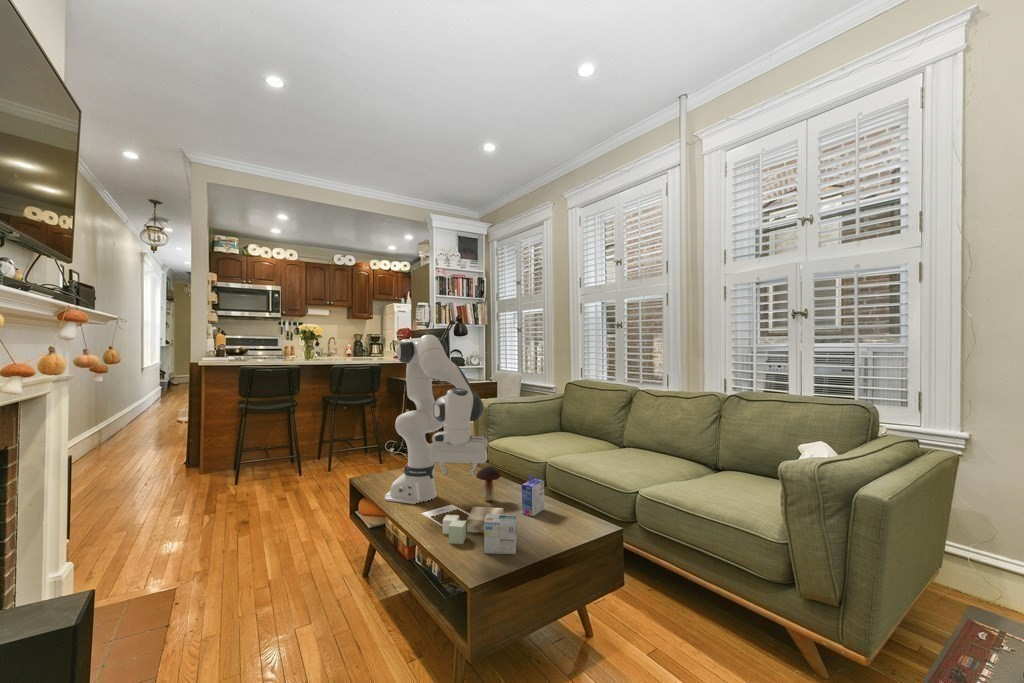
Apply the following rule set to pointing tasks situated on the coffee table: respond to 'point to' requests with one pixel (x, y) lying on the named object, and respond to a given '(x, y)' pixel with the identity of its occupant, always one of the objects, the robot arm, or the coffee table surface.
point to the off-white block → (448, 522)
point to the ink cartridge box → (532, 496)
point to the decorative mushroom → (488, 480)
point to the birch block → (480, 518)
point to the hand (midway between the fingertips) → (458, 475)
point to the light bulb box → (500, 533)
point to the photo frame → (440, 511)
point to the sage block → (457, 532)
